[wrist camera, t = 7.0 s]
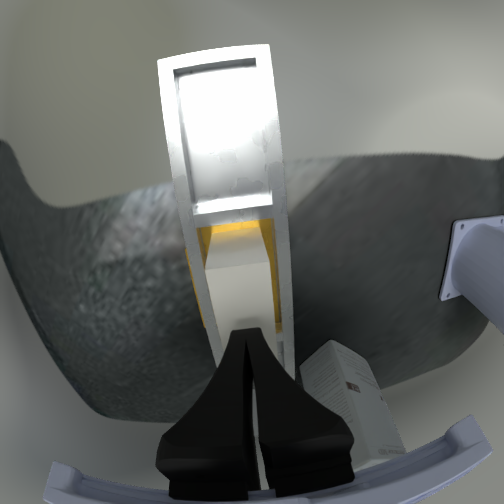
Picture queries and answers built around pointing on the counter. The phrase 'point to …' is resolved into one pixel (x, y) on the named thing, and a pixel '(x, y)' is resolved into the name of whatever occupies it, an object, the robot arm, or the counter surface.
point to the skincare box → (353, 402)
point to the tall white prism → (241, 284)
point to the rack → (229, 170)
